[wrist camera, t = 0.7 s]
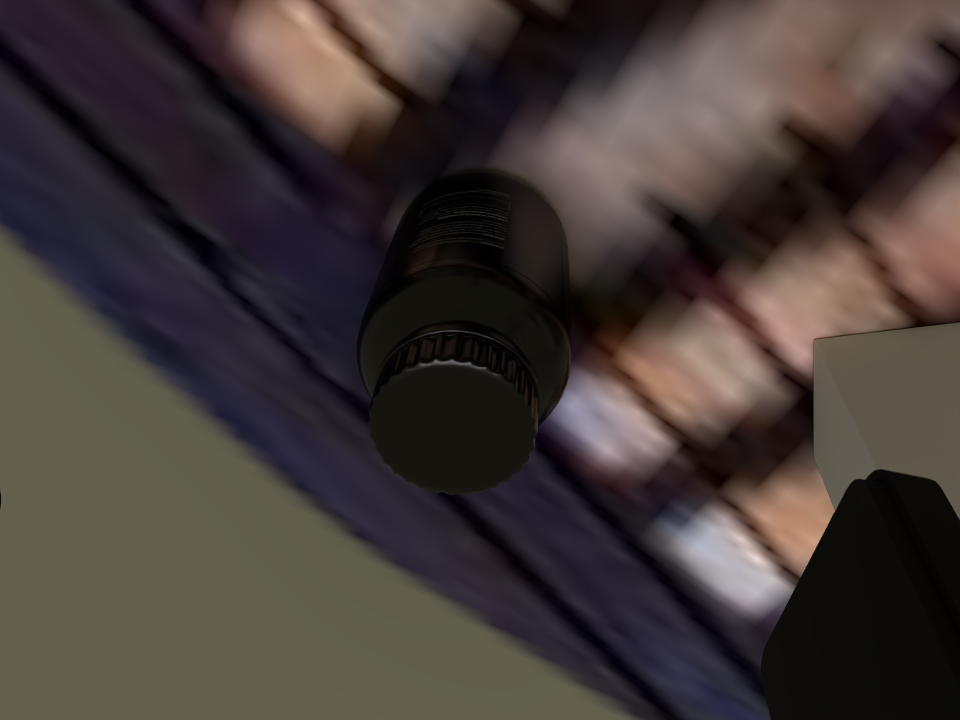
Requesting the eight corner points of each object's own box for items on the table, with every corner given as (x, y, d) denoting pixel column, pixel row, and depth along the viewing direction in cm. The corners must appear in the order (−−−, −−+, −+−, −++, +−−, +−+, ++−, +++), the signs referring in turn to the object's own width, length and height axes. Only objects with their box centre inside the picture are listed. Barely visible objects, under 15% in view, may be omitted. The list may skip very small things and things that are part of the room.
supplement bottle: (368, 281, 36) (291, 462, 26) (442, 135, 33) (386, 276, 22) (518, 354, 37) (500, 555, 27) (603, 220, 34) (620, 391, 24)
